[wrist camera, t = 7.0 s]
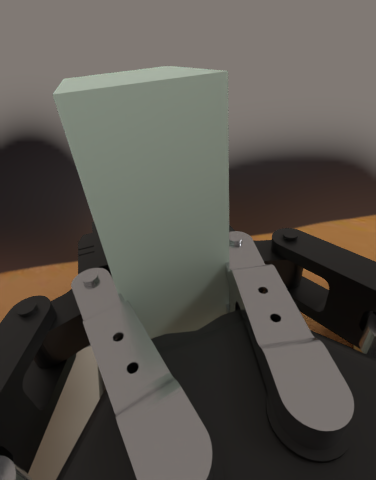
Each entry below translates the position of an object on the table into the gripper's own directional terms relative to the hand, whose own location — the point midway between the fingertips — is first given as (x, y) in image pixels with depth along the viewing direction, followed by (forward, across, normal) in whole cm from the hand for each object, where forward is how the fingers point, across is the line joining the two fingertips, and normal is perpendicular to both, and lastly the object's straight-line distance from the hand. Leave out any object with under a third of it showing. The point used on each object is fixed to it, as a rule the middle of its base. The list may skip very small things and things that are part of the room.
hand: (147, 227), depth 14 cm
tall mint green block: (-3, 0, +10) cm, 10 cm away
